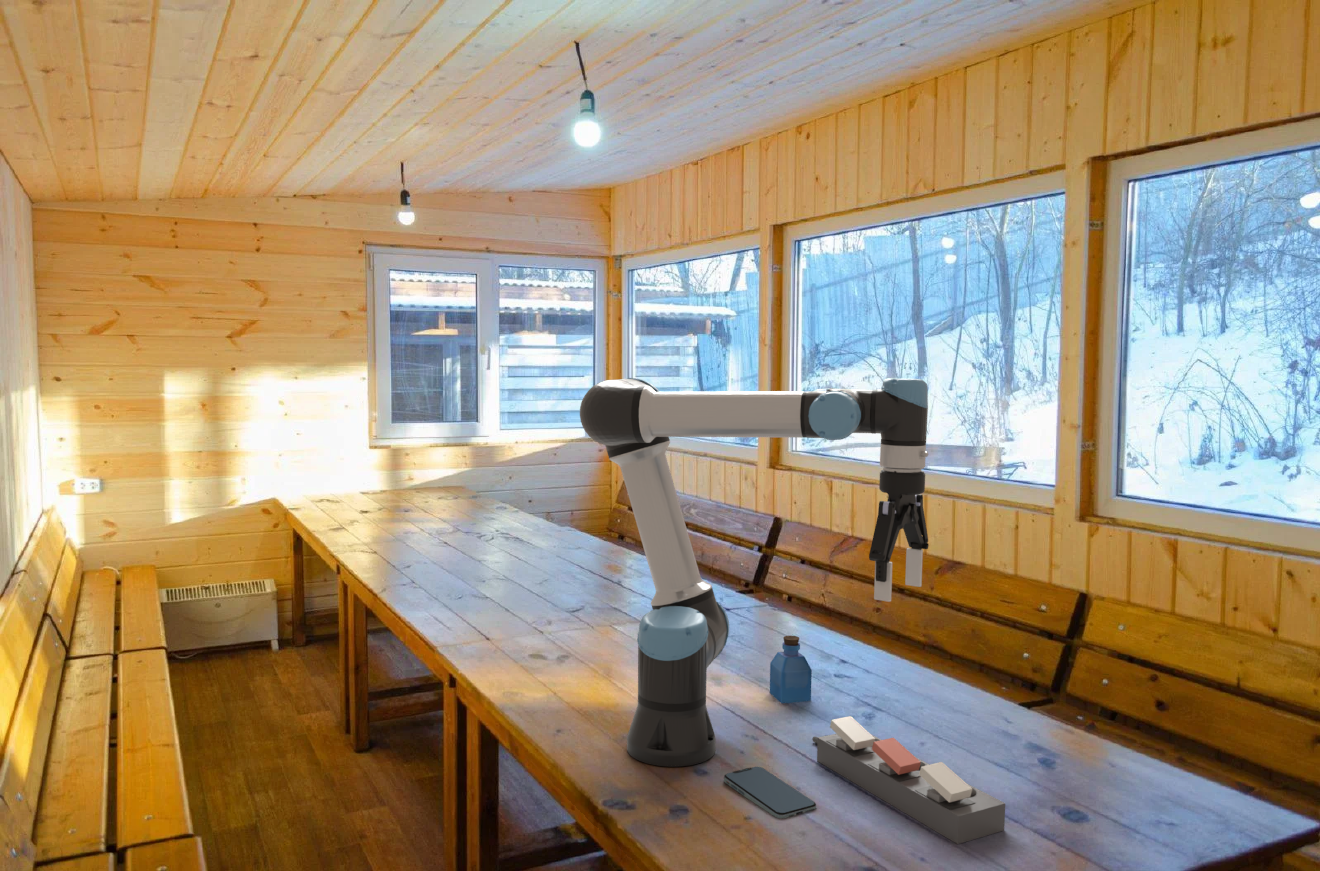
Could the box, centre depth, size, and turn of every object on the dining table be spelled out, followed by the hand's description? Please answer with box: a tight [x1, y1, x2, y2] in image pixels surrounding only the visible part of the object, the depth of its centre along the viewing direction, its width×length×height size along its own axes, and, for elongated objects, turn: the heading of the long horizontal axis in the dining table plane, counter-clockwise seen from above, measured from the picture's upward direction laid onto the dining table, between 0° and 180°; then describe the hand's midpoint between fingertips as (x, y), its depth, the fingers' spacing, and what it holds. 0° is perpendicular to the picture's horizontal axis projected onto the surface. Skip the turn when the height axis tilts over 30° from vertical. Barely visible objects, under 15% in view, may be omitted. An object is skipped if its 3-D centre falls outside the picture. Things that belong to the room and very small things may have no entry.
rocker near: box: [919, 761, 972, 803], centre depth 144 cm, size 6×4×1 cm, turn 28°
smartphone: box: [723, 766, 817, 819], centre depth 154 cm, size 8×2×15 cm
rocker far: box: [829, 715, 875, 750], centre depth 163 cm, size 6×4×1 cm, turn 28°
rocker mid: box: [872, 737, 921, 775], centre depth 153 cm, size 6×4×1 cm, turn 28°
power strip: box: [812, 733, 1006, 845], centre depth 158 cm, size 39×9×5 cm, turn 28°
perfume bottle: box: [769, 635, 813, 704], centre depth 198 cm, size 6×6×12 cm
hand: (898, 592), depth 171 cm, fingers open, 13 cm apart
